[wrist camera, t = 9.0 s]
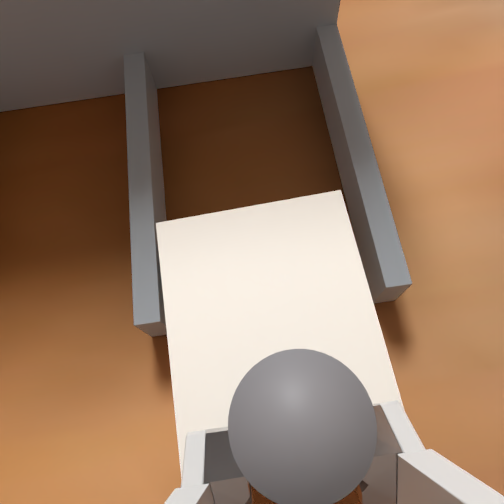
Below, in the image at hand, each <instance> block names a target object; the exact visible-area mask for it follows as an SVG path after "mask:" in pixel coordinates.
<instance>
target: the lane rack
mask: <svg viewBox="0 0 504 504" xmlns="http://www.w3.org/2000/svg"><path fill="white" fill-rule="evenodd" d="M339 5H340V0H0V112H3V111H10V110H17V109H24V108H30V107H37V106H44V105H51V104H57V103H64V102H71V101H78V100H85V99H91V98H98V97H105V96H112V95H119V94H125V105H126V131H127V158H128V184H129V211H130V237H131V264H132V290H133V317H134V326H136V327H137V328H139V329H140V330H142V331H143V332H145V333H147V334H148V335H150V336H151V337H154V336H161V335H167V330H166V320H165V310H164V300H163V290H162V280H161V270H160V260H159V250H158V240H157V230H156V223H159V222H164V221H167V220H166V206H165V192H164V179H163V165H162V151H161V138H160V124H159V110H158V97H157V89H159V88H166V87H173V86H180V85H187V84H193V83H200V82H207V81H214V80H221V79H227V78H234V77H241V76H248V75H255V74H261V73H268V72H275V71H282V70H289V69H295V68H302V67H309V66H312V67H313V71H314V75H315V79H316V83H317V87H318V91H319V95H320V99H321V103H322V107H323V111H324V115H325V119H326V123H327V127H328V131H329V135H330V139H331V143H332V147H333V151H334V155H335V159H336V163H337V167H338V171H339V175H340V179H341V183H342V187H343V191H344V195H345V199H346V203H347V207H348V211H349V215H350V219H351V223H352V227H353V231H354V235H355V239H356V243H357V247H358V251H359V255H360V258H361V261H362V265H363V268H364V272H365V275H366V279H367V282H368V286H369V289H370V293H371V296H372V300H373V303H374V304H375V303H381V302H388V301H395V300H396V299H397V298H398V297H399V296H400V295H401V294H402V293H403V292H404V291H405V290H406V289H407V288H408V287H409V286H410V285H412V281H411V277H410V274H409V271H408V267H407V264H406V260H405V257H404V253H403V250H402V247H401V243H400V240H399V236H398V233H397V230H396V226H395V223H394V219H393V216H392V212H391V209H390V206H389V202H388V199H387V195H386V192H385V188H384V185H383V182H382V178H381V175H380V171H379V168H378V164H377V161H376V158H375V154H374V151H373V147H372V144H371V140H370V137H369V134H368V130H367V127H366V123H365V120H364V116H363V113H362V110H361V106H360V103H359V99H358V96H357V92H356V89H355V86H354V82H353V79H352V75H351V72H350V68H349V65H348V62H347V58H346V55H345V51H344V48H343V44H342V41H341V38H340V34H339V31H338V27H337V18H338V12H339Z"/></svg>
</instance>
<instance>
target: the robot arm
mask: <svg viewBox="0 0 504 504" xmlns="http://www.w3.org/2000/svg"><path fill="white" fill-rule="evenodd" d="M372 405H373V408H374V411H375V416H376V422H377V443H376V449H375V454H374V457H373V460H372V463H371V465H370V467H369V470H368V472H367V473H366V475H365V477H364V478H363V480H362V481H361V482H360V484H359V485H358V486H357V487H356V488H355V489H356V492H357V495H358V498H359V501H360V504H504V496H503V495H501V494H500V493H498V492H497V491H495V490H494V489H492V488H490V487H489V486H487V485H486V484H484V483H483V482H481V481H480V480H478V479H477V478H475V477H474V476H472V475H471V474H469V473H468V472H466V471H464V470H463V469H461V468H460V467H458V466H457V465H455V464H454V463H452V462H451V461H449V460H448V459H446V458H445V457H443V456H442V455H440V454H439V453H437V452H435V451H434V450H432V449H427V450H426V449H425V447H424V446H423V444H422V442H421V440H420V438H419V436H418V435H417V433H416V431H415V429H414V427H413V425H412V424H411V422H410V420H409V418H408V416H407V414H406V413H405V411H404V409H403V407H402V405H401V403H400V402H399V401H397V400H394V401H388V402H382V403H378V404H377V403H376V404H372ZM252 487H253V486H252V485H251V484H250V483H249V482H248V481H247V479H246V478H245V477H244V475H243V474H242V472H241V471H240V469H239V467H238V465H237V463H236V461H235V459H234V456H233V453H232V450H231V447H230V442H229V436H228V427H221V428H213V429H207V430H201V431H193V432H188V433H187V436H186V440H185V450H184V460H183V470H182V480H181V488H176V489H174V491H173V492H172V493H171V495H170V496H169V498H168V499H167V500H166V502H165V503H164V504H254V497H253V492H252Z"/></svg>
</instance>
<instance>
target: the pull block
mask: <svg viewBox="0 0 504 504" xmlns="http://www.w3.org/2000/svg"><path fill="white" fill-rule="evenodd" d="M156 230H157V240H158V250H159V260H160V270H161V280H162V290H163V300H164V310H165V320H166V330H167V340H168V349H169V359H170V369H171V379H172V389H173V399H174V409H175V419H176V429H177V439H178V449H179V459H180V469H181V478H182V470H183V460H184V450H185V440H186V436H187V433H188V432H193V431H201V430H207V429H213V428H221V427H228V436H229V442H230V447H231V450H232V453H233V456H234V459H235V461H236V463H237V465H238V467H239V469H240V471H241V472H242V474H243V475H244V477H245V478H246V479H247V481H248V482H249V483H250V484H251V485H252V486H253V487H254V488H255V489H256V490H257V491H258V492H259V493H261V494H262V495H263V496H265V497H266V498H268V499H269V500H271V501H273V502H275V503H277V504H333V503H336V502H338V501H340V500H341V499H343V498H344V497H346V496H347V495H348V494H350V493H351V492H352V491H353V490H354V489H355V488H356V487H357V486H358V485H359V484H360V482H361V481H362V480H363V478H364V477H365V475H366V473H367V472H368V470H369V467H370V465H371V463H372V460H373V457H374V454H375V449H376V443H377V422H376V416H375V411H374V408H373V405H372V404H376V403H377V404H378V403H382V402H388V401H394V400H397V401H399V402H400V403H401V405H402V407H403V404H402V400H401V397H400V393H399V390H398V386H397V383H396V379H395V376H394V372H393V369H392V365H391V362H390V359H389V355H388V352H387V348H386V345H385V341H384V338H383V334H382V331H381V327H380V324H379V320H378V317H377V313H376V310H375V307H374V303H373V300H372V296H371V293H370V289H369V286H368V282H367V279H366V275H365V272H364V268H363V265H362V261H361V258H360V255H359V251H358V248H357V244H356V241H355V237H354V234H353V230H352V227H351V223H350V220H349V216H348V213H347V209H346V206H345V203H344V199H343V196H342V192H341V190H337V191H331V192H326V193H320V194H314V195H309V196H303V197H298V198H292V199H287V200H281V201H276V202H270V203H264V204H259V205H253V206H248V207H242V208H237V209H231V210H225V211H220V212H214V213H209V214H203V215H198V216H192V217H187V218H181V219H175V220H170V221H164V222H159V223H156ZM403 409H404V407H403Z"/></svg>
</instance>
